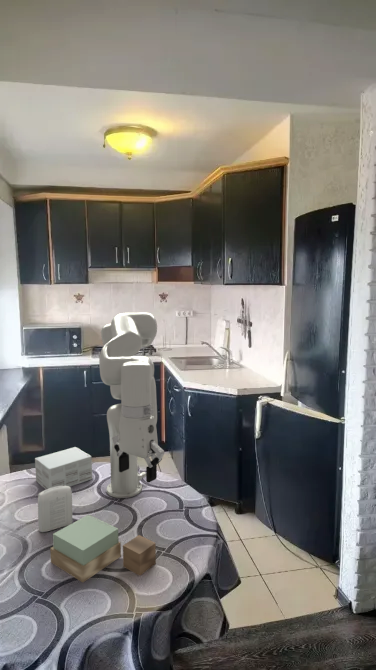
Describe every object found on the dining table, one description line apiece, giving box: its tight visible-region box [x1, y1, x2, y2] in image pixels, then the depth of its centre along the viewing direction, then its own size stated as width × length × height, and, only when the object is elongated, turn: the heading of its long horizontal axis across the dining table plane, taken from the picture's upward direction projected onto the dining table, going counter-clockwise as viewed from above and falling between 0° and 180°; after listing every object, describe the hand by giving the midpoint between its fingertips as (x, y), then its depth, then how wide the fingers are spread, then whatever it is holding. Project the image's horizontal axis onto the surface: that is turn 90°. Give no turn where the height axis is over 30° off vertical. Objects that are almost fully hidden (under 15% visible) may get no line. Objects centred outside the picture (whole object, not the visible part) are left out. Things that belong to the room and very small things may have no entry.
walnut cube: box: [122, 534, 157, 577], centre depth 113 cm, size 6×6×6 cm
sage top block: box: [52, 514, 120, 566], centre depth 115 cm, size 12×12×4 cm
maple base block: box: [49, 541, 122, 583], centre depth 116 cm, size 13×13×4 cm
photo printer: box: [37, 486, 74, 533], centre depth 131 cm, size 10×4×12 cm, turn 123°
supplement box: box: [34, 446, 93, 490], centre depth 162 cm, size 17×13×9 cm
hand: (137, 475), depth 111 cm, fingers open, 9 cm apart
